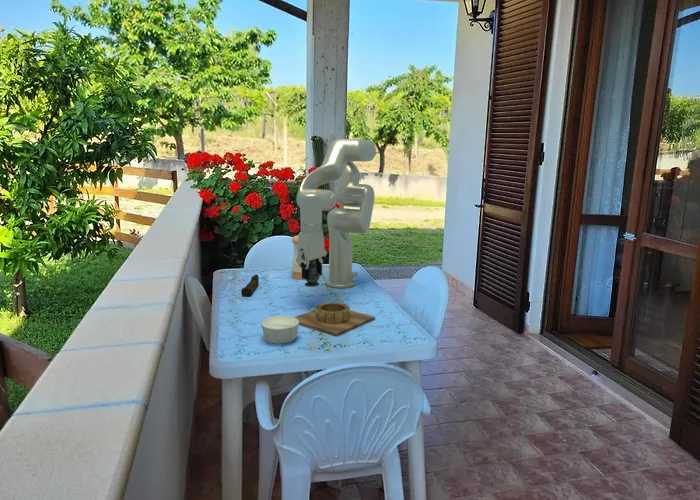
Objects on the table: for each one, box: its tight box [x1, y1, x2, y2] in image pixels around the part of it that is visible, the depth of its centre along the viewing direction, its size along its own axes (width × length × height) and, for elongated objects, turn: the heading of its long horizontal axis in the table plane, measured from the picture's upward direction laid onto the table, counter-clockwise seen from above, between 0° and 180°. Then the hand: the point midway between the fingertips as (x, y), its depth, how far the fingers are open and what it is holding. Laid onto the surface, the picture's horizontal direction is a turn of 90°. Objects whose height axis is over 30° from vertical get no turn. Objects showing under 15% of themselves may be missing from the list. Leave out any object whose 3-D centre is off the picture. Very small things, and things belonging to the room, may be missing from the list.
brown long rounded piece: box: [240, 274, 260, 298], centre depth 204 cm, size 19×4×5 cm, turn 175°
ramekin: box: [260, 315, 300, 345], centre depth 155 cm, size 11×11×5 cm
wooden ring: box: [315, 301, 351, 324], centre depth 170 cm, size 11×11×4 cm
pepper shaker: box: [291, 233, 306, 281], centre depth 222 cm, size 7×7×19 cm
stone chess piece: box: [304, 259, 321, 288], centre depth 185 cm, size 6×6×12 cm
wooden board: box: [293, 309, 376, 337], centre depth 171 cm, size 20×20×1 cm
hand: (312, 276), depth 186 cm, fingers closed on stone chess piece, 5 cm apart
